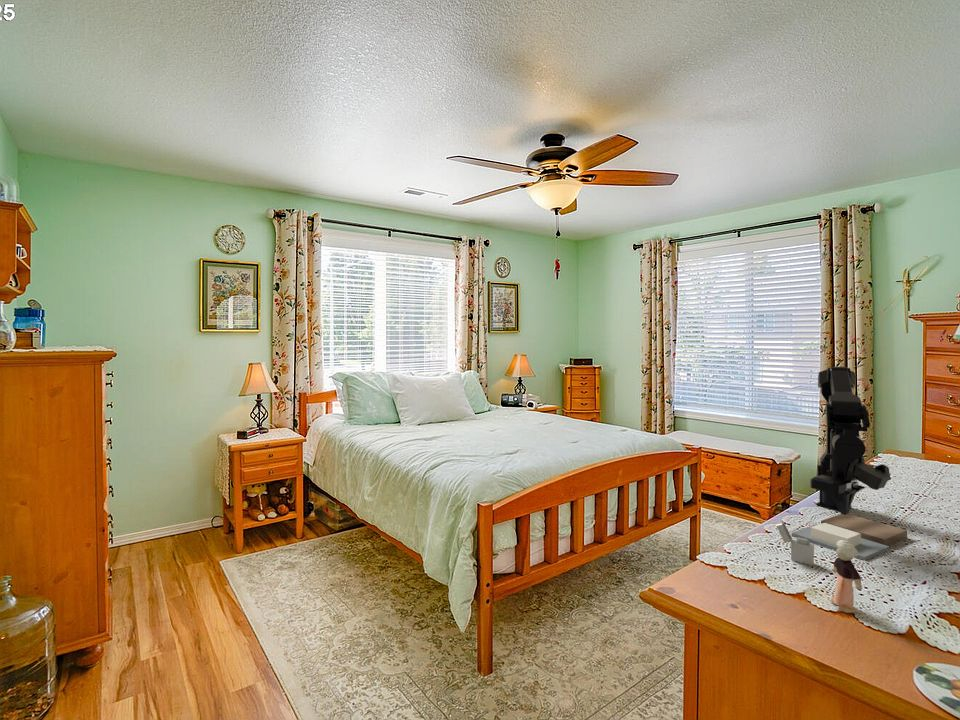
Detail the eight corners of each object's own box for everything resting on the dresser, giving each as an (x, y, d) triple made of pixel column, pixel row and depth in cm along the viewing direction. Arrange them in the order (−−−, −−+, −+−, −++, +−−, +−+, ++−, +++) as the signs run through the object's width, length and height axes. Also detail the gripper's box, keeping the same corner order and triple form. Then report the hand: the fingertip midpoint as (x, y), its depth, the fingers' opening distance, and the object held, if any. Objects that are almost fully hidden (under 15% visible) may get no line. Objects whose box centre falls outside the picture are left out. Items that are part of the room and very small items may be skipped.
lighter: (813, 563, 110) (814, 527, 109) (812, 565, 108) (812, 530, 108) (777, 554, 115) (777, 520, 114) (775, 556, 113) (775, 522, 113)
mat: (791, 535, 124) (791, 532, 124) (816, 527, 130) (816, 524, 130) (864, 560, 110) (864, 557, 110) (889, 549, 115) (889, 546, 115)
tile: (810, 537, 121) (810, 527, 121) (824, 532, 124) (824, 522, 124) (847, 549, 114) (847, 538, 114) (860, 543, 117) (860, 533, 117)
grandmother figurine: (819, 598, 95) (820, 533, 95) (838, 596, 96) (838, 532, 95) (852, 620, 88) (853, 551, 87) (872, 619, 88) (873, 549, 88)
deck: (821, 528, 129) (821, 520, 129) (843, 520, 134) (843, 512, 134) (884, 547, 116) (884, 539, 116) (907, 538, 122) (907, 530, 121)
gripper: (862, 463, 108) (861, 533, 109) (903, 452, 117) (902, 517, 118) (809, 453, 118) (808, 517, 119) (850, 444, 127) (850, 503, 128)
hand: (844, 514), depth 121 cm, fingers closed
